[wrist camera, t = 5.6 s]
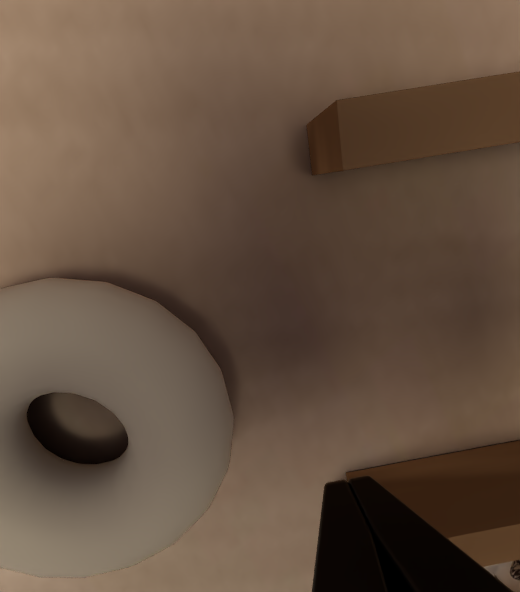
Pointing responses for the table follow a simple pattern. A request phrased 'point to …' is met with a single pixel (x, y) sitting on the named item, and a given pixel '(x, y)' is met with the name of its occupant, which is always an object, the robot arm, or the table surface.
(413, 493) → the carrier cradle
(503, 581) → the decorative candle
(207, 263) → the table surface
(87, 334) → the donut
